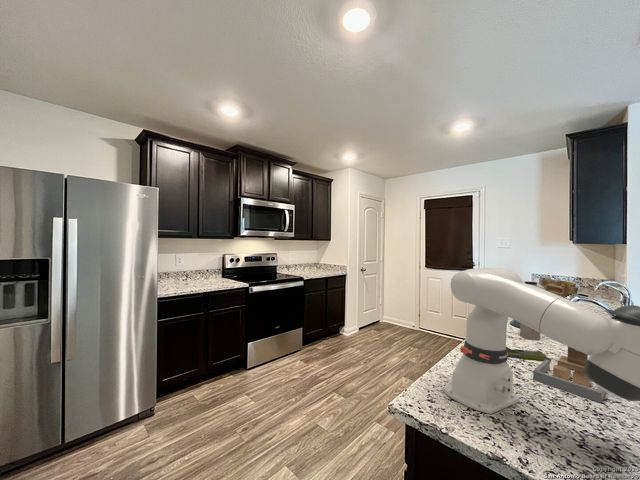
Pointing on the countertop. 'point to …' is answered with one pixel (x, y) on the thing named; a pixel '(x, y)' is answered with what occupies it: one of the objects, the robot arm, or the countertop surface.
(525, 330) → the thermos bottle
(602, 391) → the grey u-shaped frame
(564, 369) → the offcut left
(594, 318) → the robot arm
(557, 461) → the countertop surface
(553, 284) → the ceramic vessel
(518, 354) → the gun
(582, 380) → the offcut right
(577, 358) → the wooden post block
